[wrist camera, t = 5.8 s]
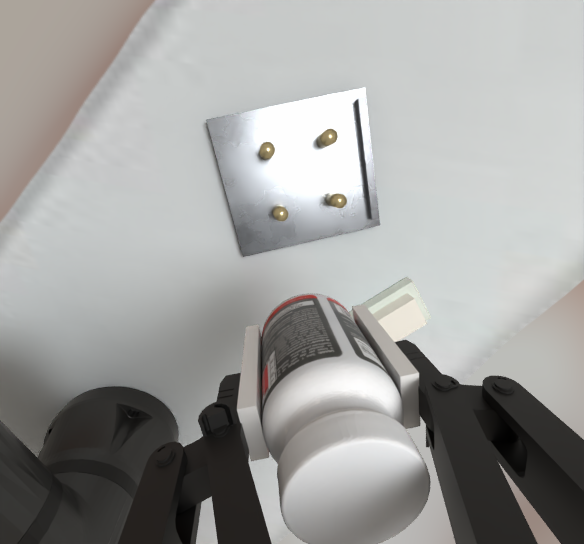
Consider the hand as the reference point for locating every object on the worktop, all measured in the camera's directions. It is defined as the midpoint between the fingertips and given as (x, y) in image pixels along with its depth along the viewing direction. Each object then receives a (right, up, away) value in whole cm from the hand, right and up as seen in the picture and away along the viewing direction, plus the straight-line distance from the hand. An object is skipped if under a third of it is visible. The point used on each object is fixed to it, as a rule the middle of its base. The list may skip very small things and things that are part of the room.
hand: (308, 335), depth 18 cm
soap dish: (+11, -2, +21) cm, 23 cm away
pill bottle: (0, 0, +1) cm, 1 cm away
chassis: (0, +14, +14) cm, 20 cm away
